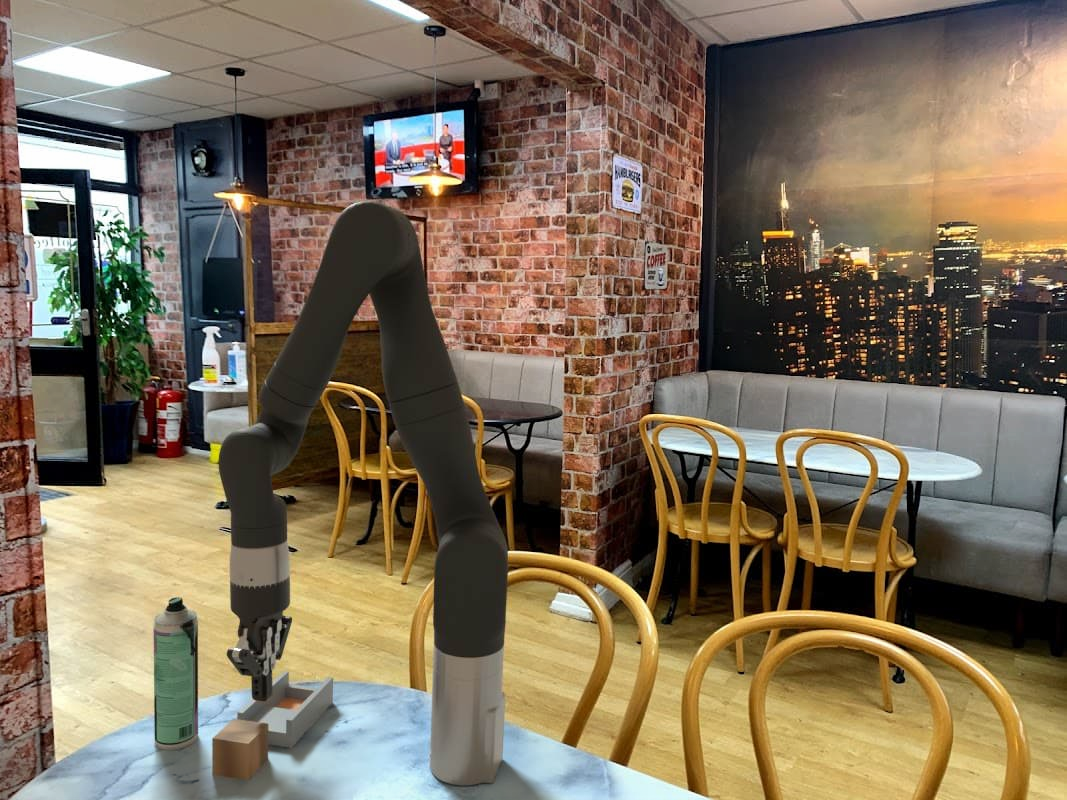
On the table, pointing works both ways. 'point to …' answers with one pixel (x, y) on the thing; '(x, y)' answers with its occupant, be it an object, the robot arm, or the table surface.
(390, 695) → the table surface
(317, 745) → the table surface
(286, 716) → the channel
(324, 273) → the robot arm
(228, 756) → the walnut block
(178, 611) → the spray can
